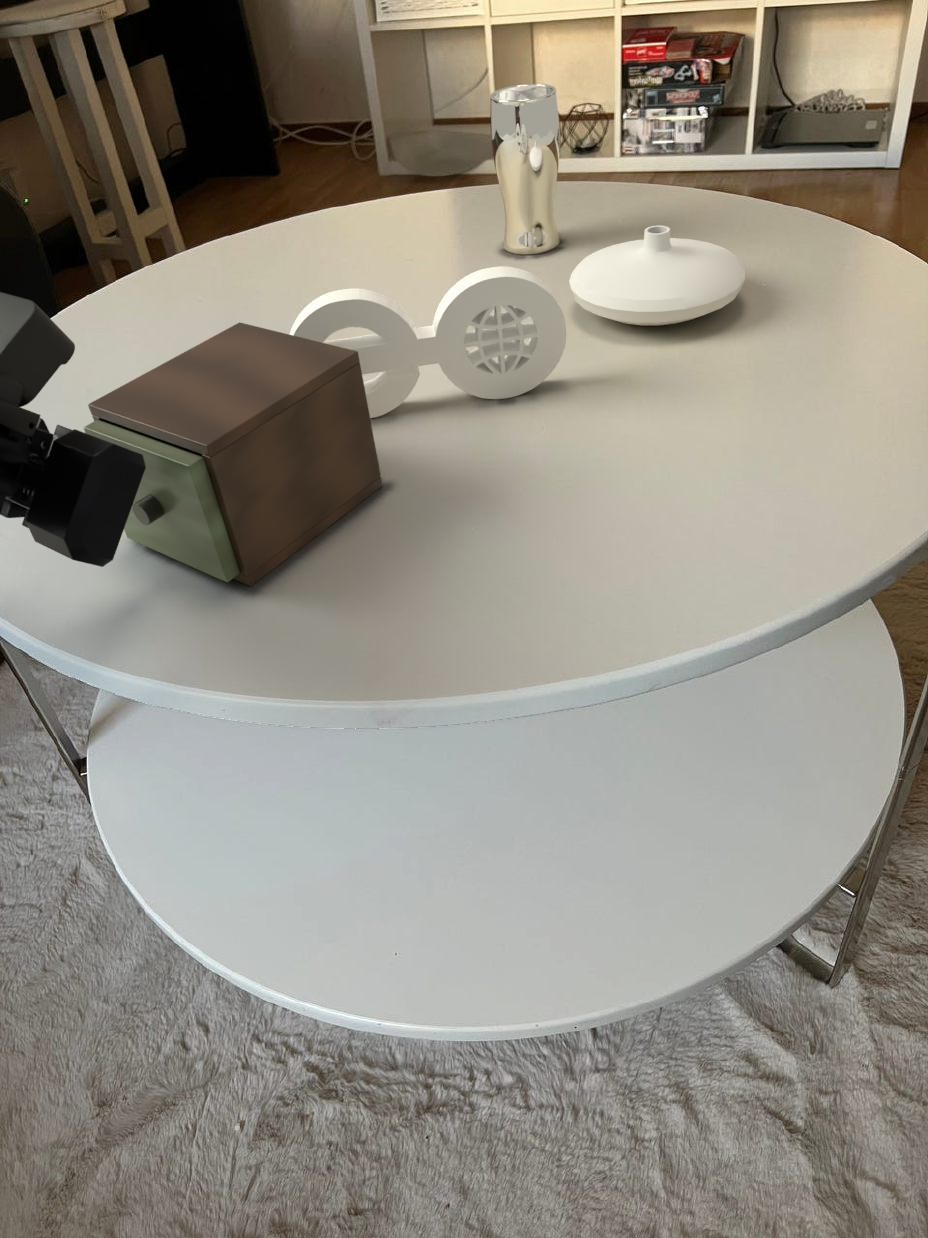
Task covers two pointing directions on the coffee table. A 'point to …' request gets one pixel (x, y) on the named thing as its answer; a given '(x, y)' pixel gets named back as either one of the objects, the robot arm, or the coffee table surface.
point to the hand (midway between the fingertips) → (128, 501)
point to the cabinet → (262, 434)
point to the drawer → (174, 503)
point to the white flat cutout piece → (448, 336)
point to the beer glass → (527, 164)
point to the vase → (657, 279)
